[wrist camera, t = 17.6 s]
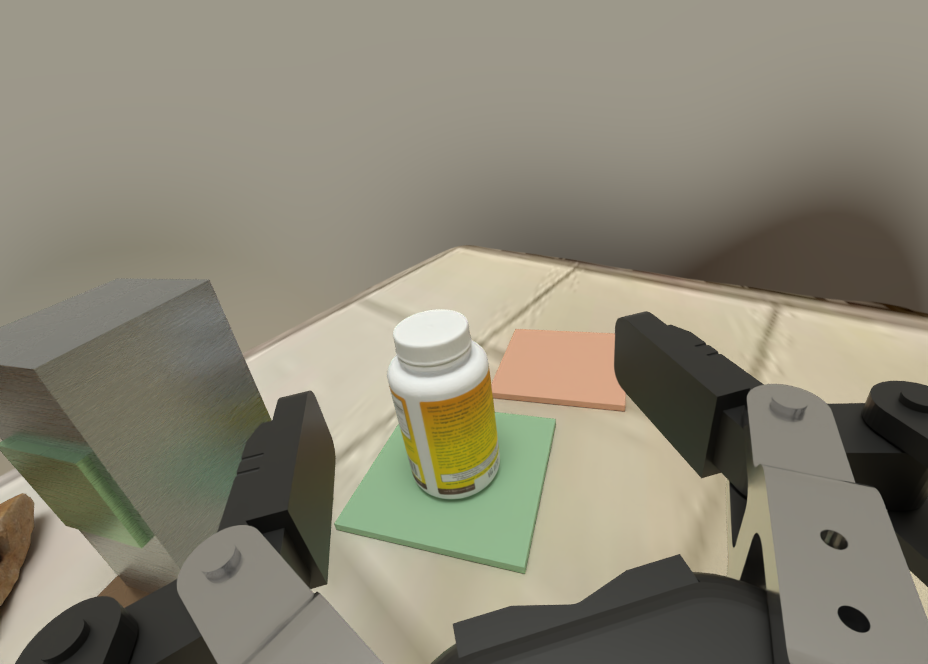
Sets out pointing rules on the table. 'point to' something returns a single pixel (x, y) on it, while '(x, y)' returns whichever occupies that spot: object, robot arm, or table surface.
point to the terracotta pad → (560, 369)
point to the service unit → (130, 420)
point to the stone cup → (14, 539)
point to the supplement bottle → (444, 404)
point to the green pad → (459, 500)
